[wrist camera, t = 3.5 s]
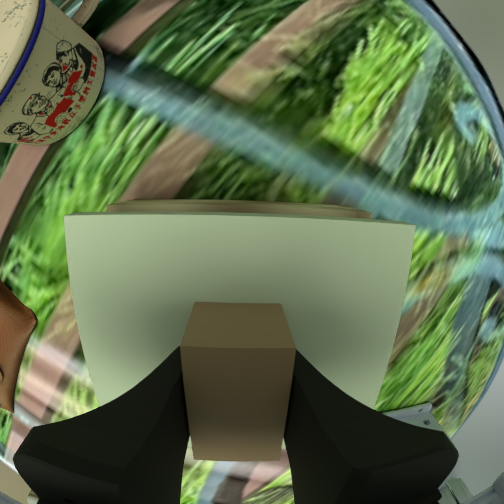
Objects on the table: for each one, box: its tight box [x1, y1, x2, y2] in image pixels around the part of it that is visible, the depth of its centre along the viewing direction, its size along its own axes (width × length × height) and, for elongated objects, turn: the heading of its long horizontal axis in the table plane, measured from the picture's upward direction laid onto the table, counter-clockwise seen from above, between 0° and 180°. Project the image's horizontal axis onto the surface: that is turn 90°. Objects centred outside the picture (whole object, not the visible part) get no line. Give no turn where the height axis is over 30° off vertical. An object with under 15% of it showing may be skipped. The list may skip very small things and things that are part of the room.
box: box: [107, 199, 371, 219], centre depth 17 cm, size 13×11×4 cm
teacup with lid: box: [0, 0, 104, 146], centre depth 9 cm, size 12×9×12 cm
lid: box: [64, 212, 416, 461], centre depth 10 cm, size 13×11×4 cm
